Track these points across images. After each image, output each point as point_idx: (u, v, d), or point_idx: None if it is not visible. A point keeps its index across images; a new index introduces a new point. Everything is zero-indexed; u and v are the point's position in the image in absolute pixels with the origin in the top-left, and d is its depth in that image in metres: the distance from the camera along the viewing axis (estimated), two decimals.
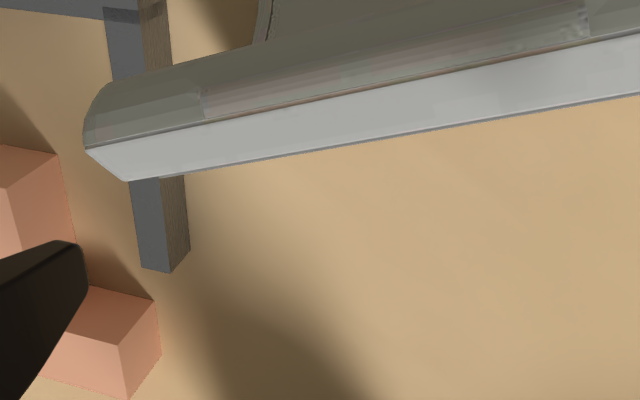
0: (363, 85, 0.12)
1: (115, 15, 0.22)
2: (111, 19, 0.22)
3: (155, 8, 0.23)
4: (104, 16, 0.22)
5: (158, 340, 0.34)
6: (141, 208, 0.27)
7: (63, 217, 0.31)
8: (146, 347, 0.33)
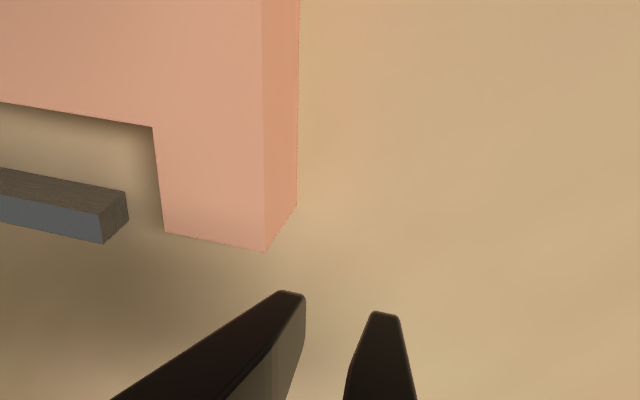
0: None
1: None
2: None
3: None
4: None
5: None
6: None
7: None
8: None
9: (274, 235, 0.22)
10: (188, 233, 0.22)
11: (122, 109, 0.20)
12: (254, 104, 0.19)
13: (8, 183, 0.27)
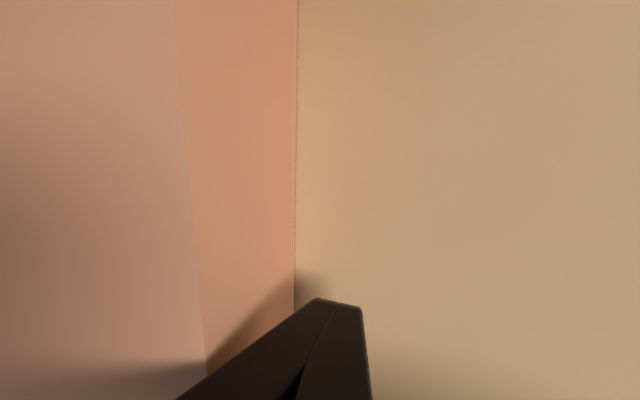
0: None
1: None
2: None
3: None
4: None
5: None
6: None
7: None
8: None
9: None
10: None
11: None
12: None
13: None
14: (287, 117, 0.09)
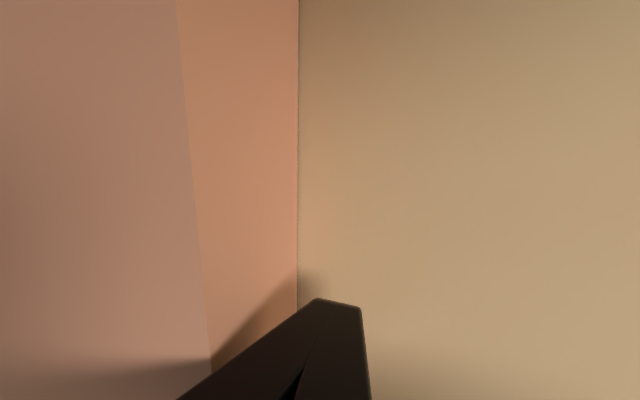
0: None
1: None
2: None
3: None
4: None
5: None
6: None
7: None
8: None
9: None
10: None
11: None
12: None
13: None
14: (289, 117, 0.09)
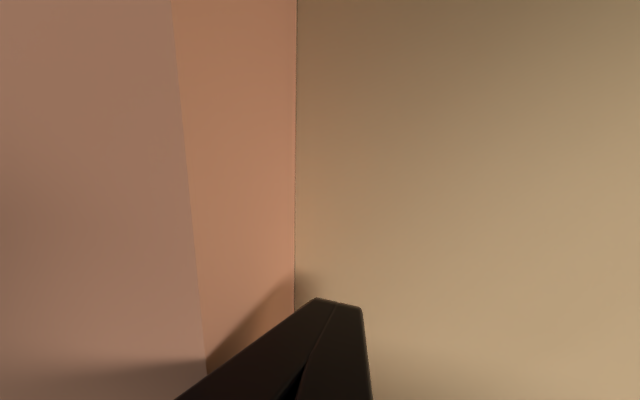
0: None
1: None
2: None
3: None
4: None
5: None
6: None
7: None
8: None
9: None
10: None
11: None
12: None
13: None
14: (286, 120, 0.09)
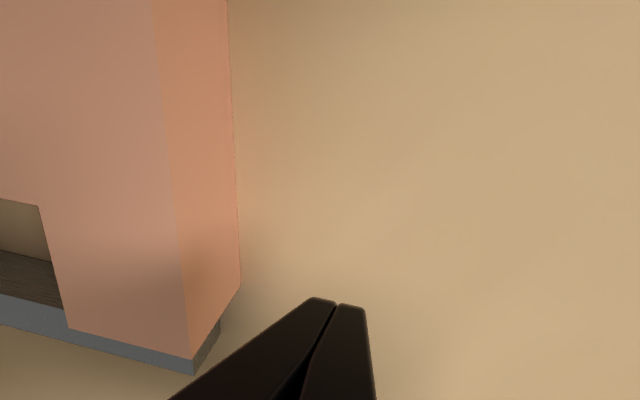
0: None
1: None
2: None
3: None
4: None
5: None
6: None
7: None
8: None
9: (206, 333, 0.18)
10: (97, 331, 0.18)
11: None
12: (160, 183, 0.14)
13: None
14: (219, 0, 0.15)
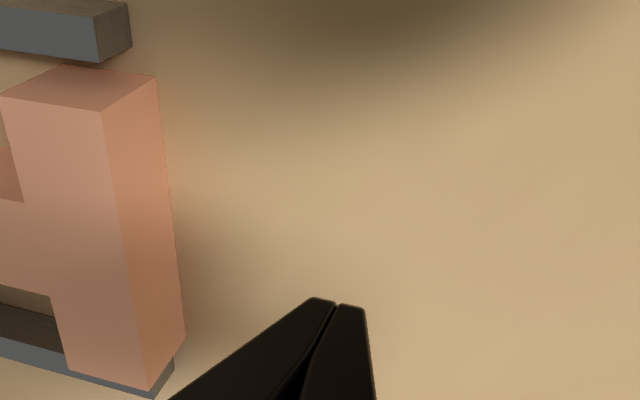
0: None
1: None
2: None
3: None
4: None
5: (121, 74, 0.22)
6: (12, 38, 0.21)
7: None
8: (92, 82, 0.22)
9: (159, 373, 0.27)
10: (87, 372, 0.27)
11: (25, 281, 0.25)
12: (124, 289, 0.23)
13: None
14: (161, 173, 0.24)
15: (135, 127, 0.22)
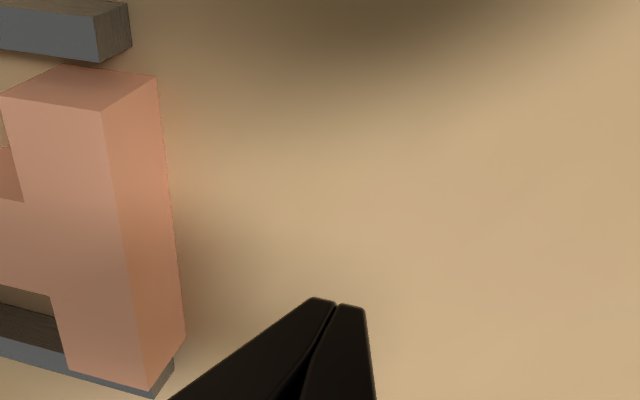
0: None
1: None
2: None
3: None
4: None
5: (121, 73, 0.22)
6: (12, 37, 0.21)
7: None
8: (92, 82, 0.22)
9: (159, 373, 0.27)
10: (87, 372, 0.27)
11: (25, 281, 0.25)
12: (124, 288, 0.23)
13: None
14: (161, 173, 0.24)
15: (135, 126, 0.22)
